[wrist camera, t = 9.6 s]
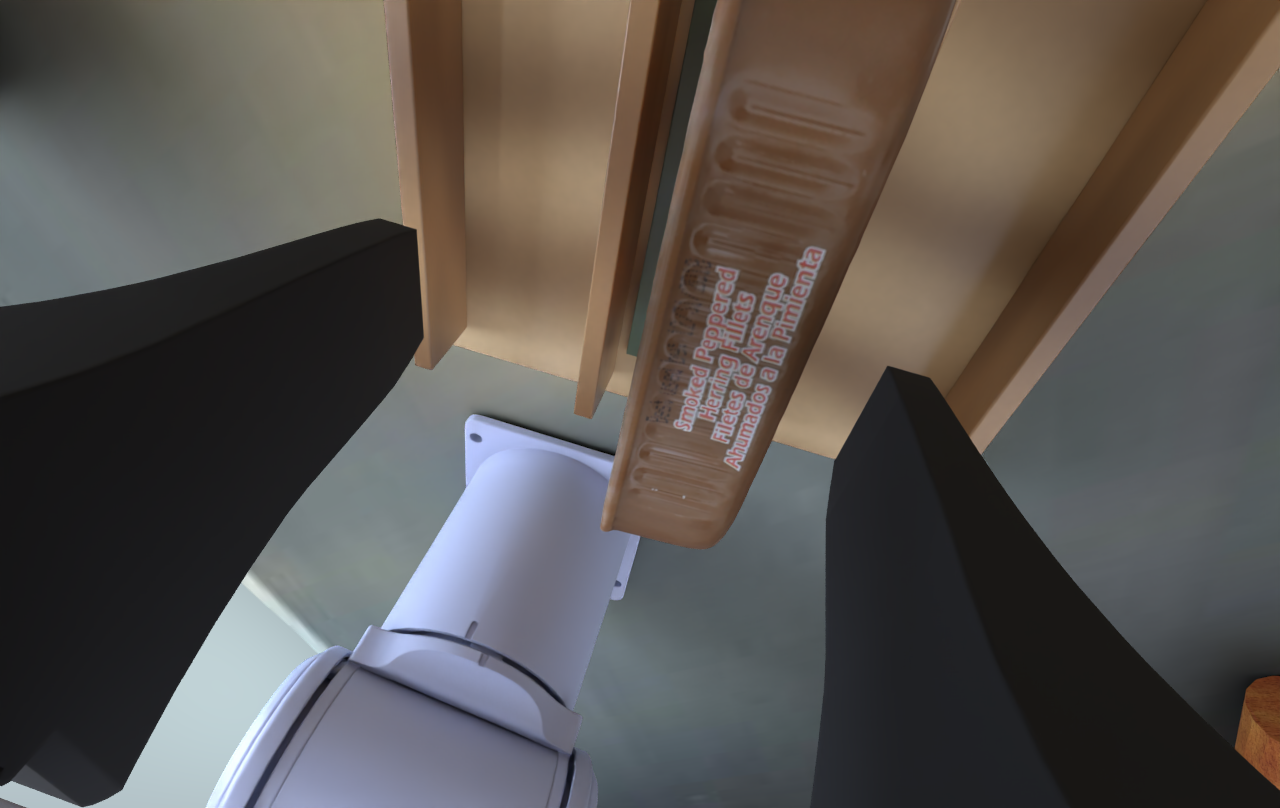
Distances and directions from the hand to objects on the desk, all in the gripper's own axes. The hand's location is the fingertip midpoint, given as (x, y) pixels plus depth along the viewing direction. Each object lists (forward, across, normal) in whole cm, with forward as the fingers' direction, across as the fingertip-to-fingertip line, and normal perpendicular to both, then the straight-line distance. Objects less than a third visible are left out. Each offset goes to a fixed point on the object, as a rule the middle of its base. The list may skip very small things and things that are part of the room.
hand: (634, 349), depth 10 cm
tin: (+9, -1, 0) cm, 9 cm away
